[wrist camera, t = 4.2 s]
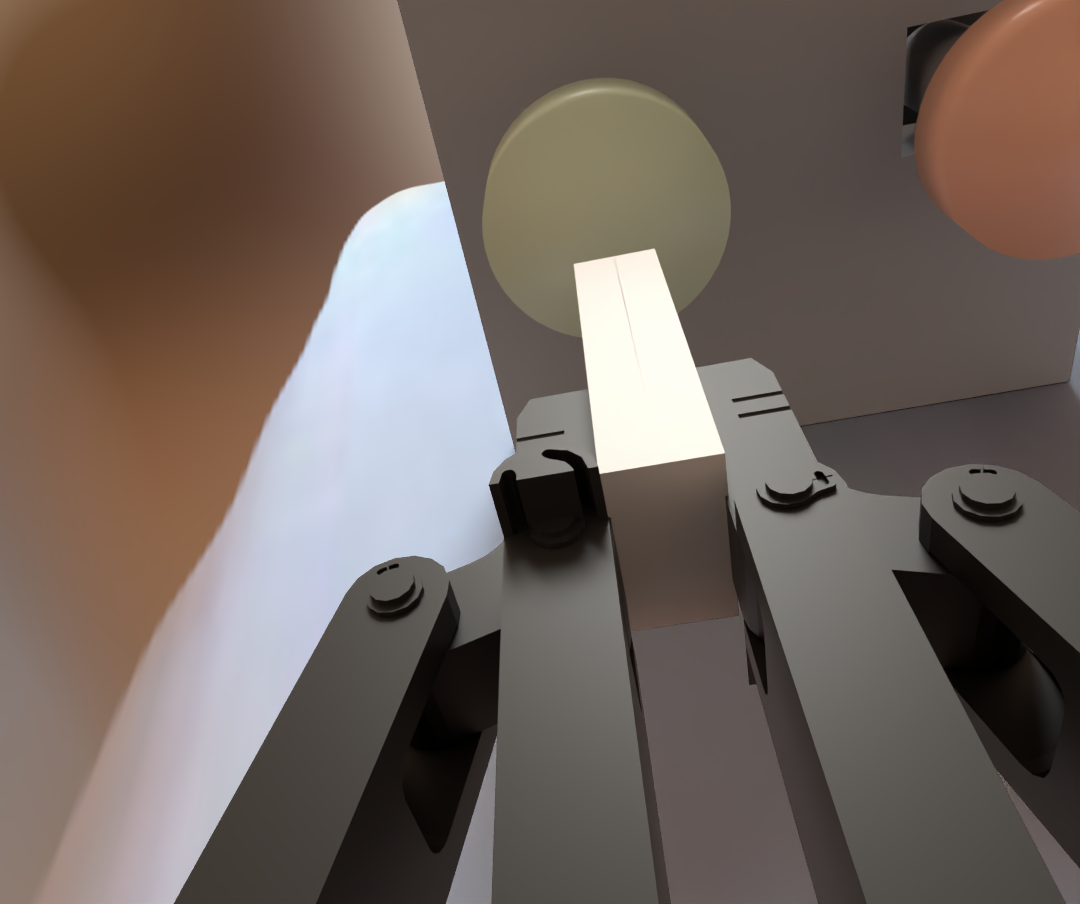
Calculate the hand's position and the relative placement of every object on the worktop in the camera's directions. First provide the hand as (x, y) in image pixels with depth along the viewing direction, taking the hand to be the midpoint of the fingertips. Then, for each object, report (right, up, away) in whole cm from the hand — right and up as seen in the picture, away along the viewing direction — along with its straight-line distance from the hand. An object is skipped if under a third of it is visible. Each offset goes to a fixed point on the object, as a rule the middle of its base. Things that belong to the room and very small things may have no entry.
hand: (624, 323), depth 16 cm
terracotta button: (+11, +5, +8) cm, 15 cm away
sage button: (+1, +3, +9) cm, 10 cm away
